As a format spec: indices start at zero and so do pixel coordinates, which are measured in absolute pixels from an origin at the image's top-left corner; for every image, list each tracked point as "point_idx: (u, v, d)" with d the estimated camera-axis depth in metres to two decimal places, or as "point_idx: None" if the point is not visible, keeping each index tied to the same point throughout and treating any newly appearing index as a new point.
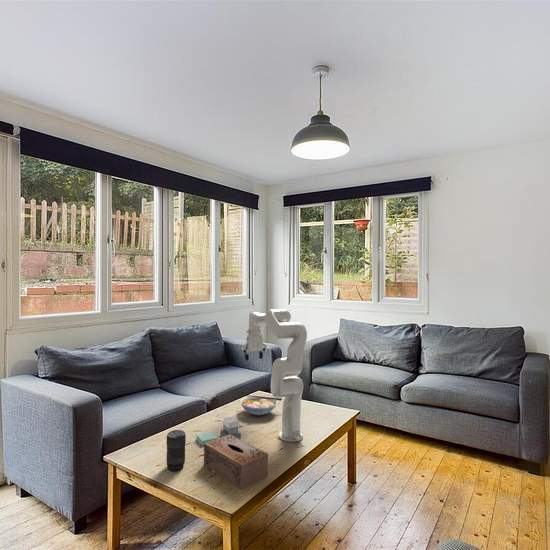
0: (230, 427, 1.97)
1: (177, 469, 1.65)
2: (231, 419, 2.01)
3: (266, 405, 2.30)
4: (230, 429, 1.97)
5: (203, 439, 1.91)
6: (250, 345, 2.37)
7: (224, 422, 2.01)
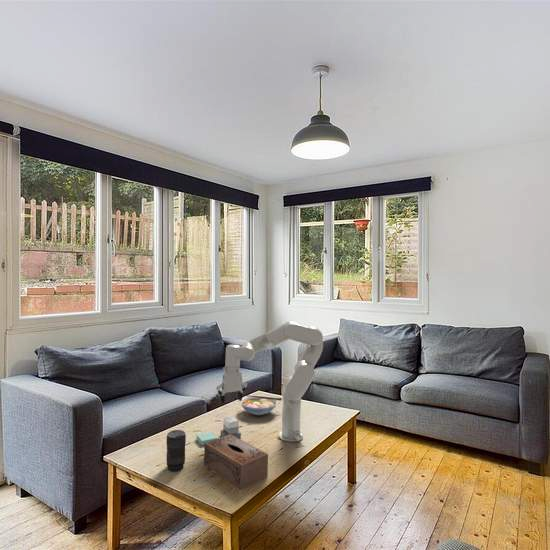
0: (230, 427, 1.97)
1: (177, 469, 1.65)
2: (231, 419, 2.01)
3: (266, 405, 2.30)
4: (230, 429, 1.97)
5: (203, 439, 1.91)
6: (226, 385, 1.97)
7: (224, 422, 2.01)
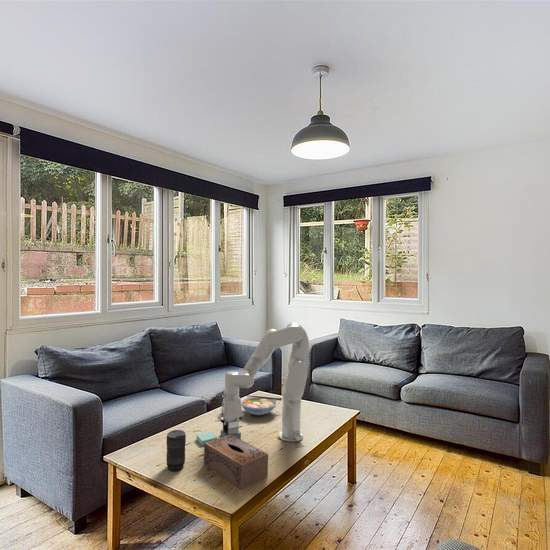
0: (230, 427, 1.97)
1: (177, 469, 1.65)
2: (231, 419, 2.01)
3: (266, 405, 2.30)
4: (230, 429, 1.97)
5: (203, 439, 1.91)
6: (226, 413, 1.97)
7: None
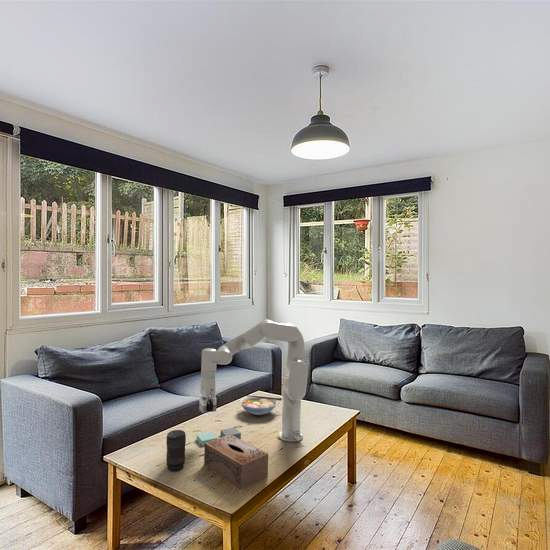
0: (200, 402, 1.94)
1: (177, 469, 1.65)
2: (209, 398, 1.94)
3: (266, 405, 2.30)
4: (200, 404, 1.94)
5: (203, 439, 1.91)
6: (200, 386, 1.96)
7: None
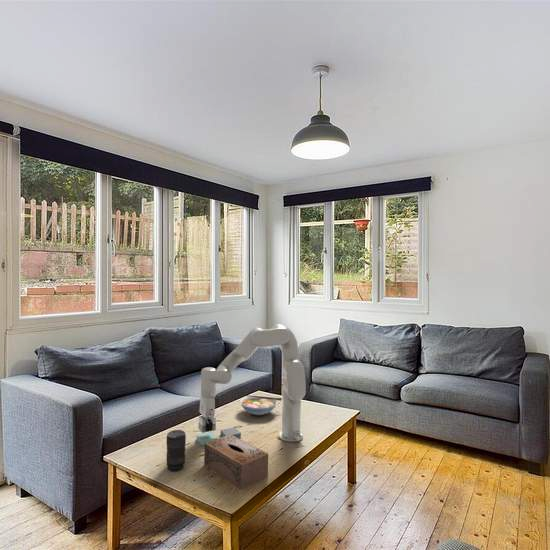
0: (199, 422, 1.94)
1: (177, 469, 1.65)
2: None
3: (266, 405, 2.30)
4: (199, 423, 1.94)
5: (203, 439, 1.91)
6: (200, 405, 1.96)
7: None
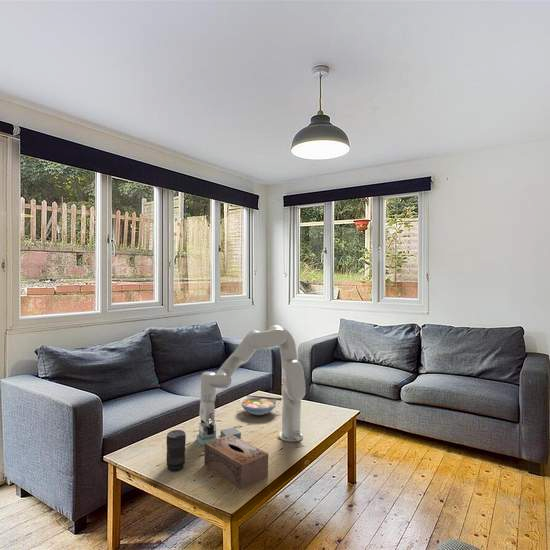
0: (199, 428, 1.94)
1: (177, 469, 1.65)
2: None
3: (266, 405, 2.30)
4: (199, 430, 1.94)
5: None
6: (200, 410, 1.97)
7: None
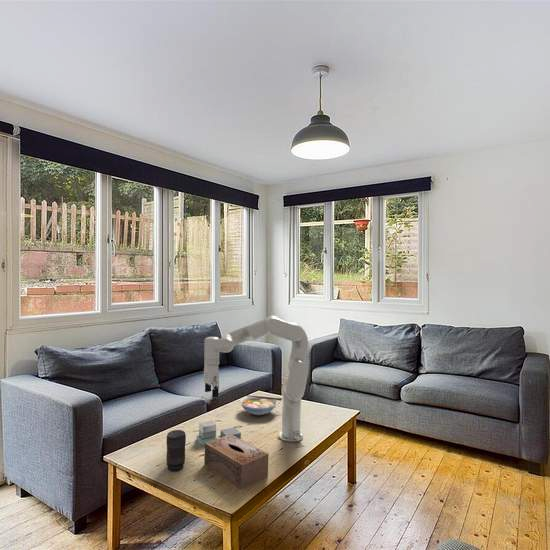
0: (199, 428, 1.94)
1: (177, 469, 1.65)
2: (208, 424, 1.94)
3: (266, 405, 2.30)
4: (199, 430, 1.94)
5: None
6: (204, 374, 2.00)
7: None
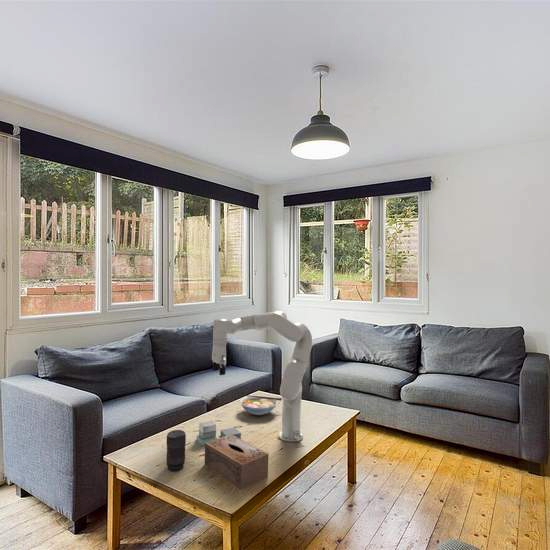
0: (199, 428, 1.94)
1: (177, 469, 1.65)
2: (208, 424, 1.94)
3: (266, 405, 2.30)
4: (199, 430, 1.94)
5: None
6: (212, 354, 2.13)
7: None
